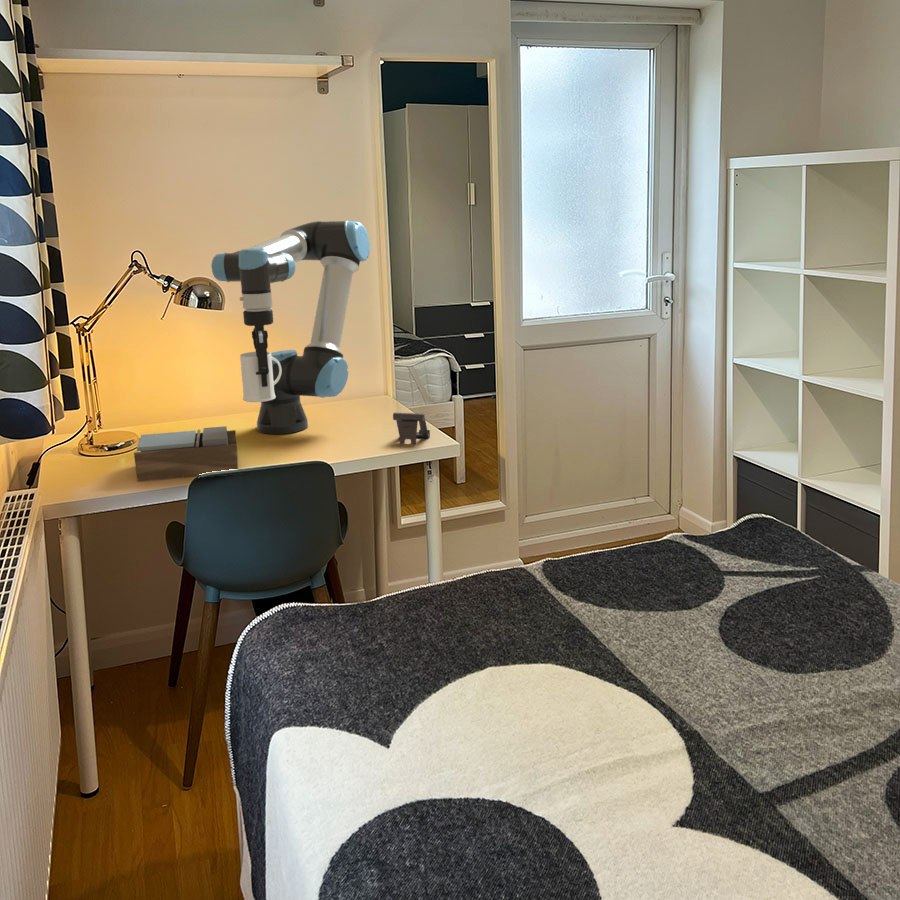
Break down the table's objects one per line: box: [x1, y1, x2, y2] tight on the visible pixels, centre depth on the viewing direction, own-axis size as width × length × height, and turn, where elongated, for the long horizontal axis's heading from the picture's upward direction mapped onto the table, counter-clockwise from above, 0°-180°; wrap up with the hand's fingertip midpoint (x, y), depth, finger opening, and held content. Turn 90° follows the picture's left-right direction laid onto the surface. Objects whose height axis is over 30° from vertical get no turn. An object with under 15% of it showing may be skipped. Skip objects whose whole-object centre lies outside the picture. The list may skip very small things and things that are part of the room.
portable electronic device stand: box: [392, 412, 431, 445], centre depth 278 cm, size 9×8×8 cm
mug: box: [239, 351, 282, 403], centre depth 261 cm, size 12×8×12 cm
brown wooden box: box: [133, 429, 239, 482], centre depth 258 cm, size 16×25×8 cm, turn 102°
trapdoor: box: [136, 425, 228, 452], centre depth 257 cm, size 22×13×6 cm, turn 102°
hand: (264, 394), depth 262 cm, fingers closed on mug, 8 cm apart
